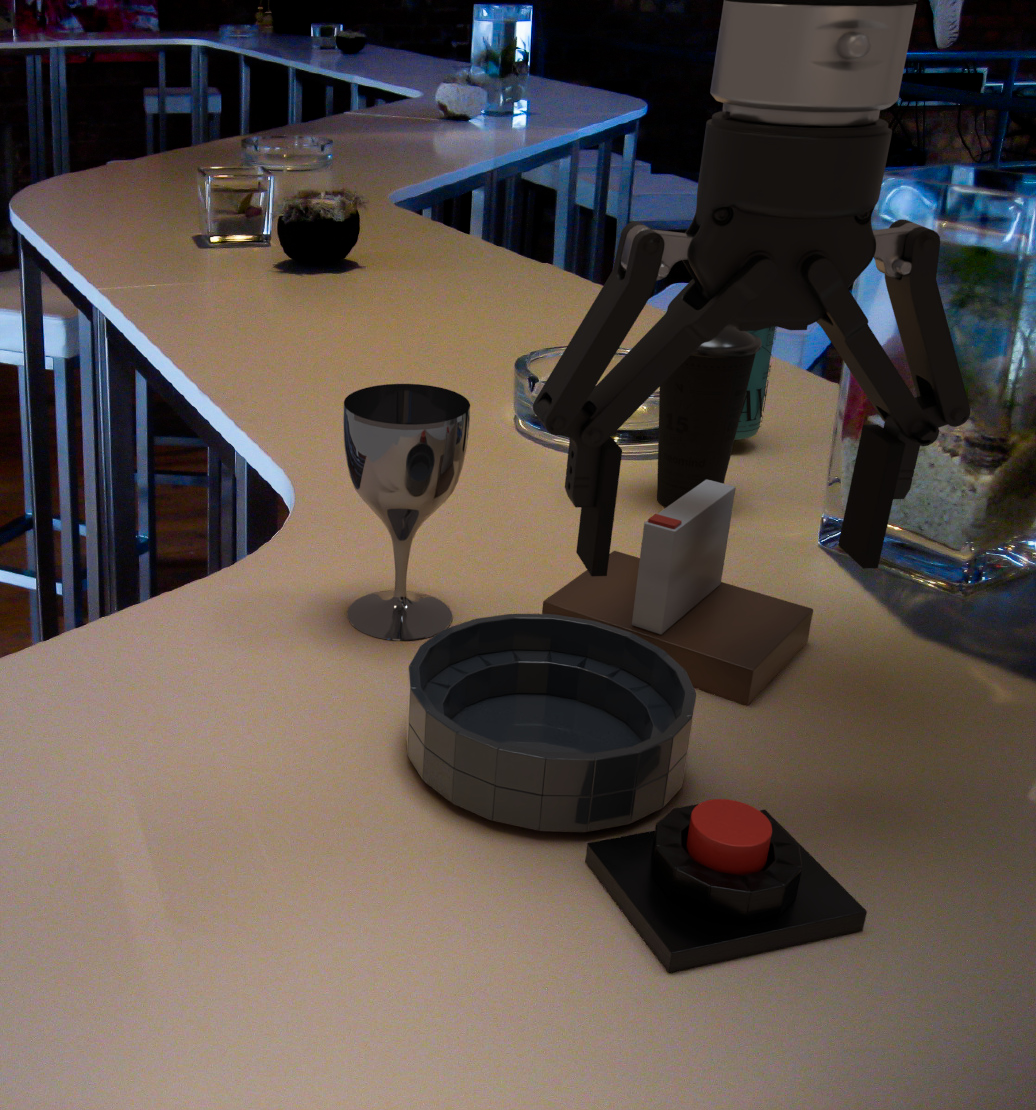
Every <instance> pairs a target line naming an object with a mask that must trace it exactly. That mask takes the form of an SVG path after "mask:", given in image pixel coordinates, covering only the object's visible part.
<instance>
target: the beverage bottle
mask: <svg viewBox="0 0 1036 1110" xmlns="http://www.w3.org/2000/svg"><path fill="white" fill-rule="evenodd" d="M777 329H778V327H776V326H773V327H769V328H765V329H762V330H758V331H748V332H751V333H753V334H755V335H756V336H758V337H759V338H760V339H761V342H762V344H761V348H760V350H759V351H758V352H757V353H756V355H755V359H754V363H753V367H752V371H751V375H750V379H749V383H748V387H747V391H746V395H745V399H744V403H743V407H742V411H741V416H740V420H739V424H738V428H737V432H736V436H735V440H736V441H737V440H745V439H750V438H752V437H754V436H756V435H757V433H758V431H759V430H760V428H761V427H762V425H761V423H762V419H764V415H763V413H765V406H766V401H767V394H768V387H769V383H770V382H769V380H770V375H771V370H772V368H771V367H772V365H771V364H772V362H771V358H773V355H772V352H773V351H774V344H775V340H776V338H777V333H776V332H777V331H778V330H777ZM770 363H771V364H770ZM735 440H734V441H735Z"/></svg>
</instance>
